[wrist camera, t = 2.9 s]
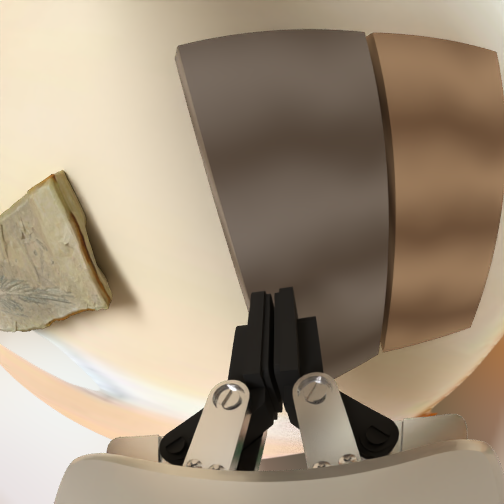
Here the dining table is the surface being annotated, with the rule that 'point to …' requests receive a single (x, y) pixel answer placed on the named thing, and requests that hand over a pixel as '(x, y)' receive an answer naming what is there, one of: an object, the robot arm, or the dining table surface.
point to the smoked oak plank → (298, 174)
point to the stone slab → (47, 259)
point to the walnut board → (438, 180)
